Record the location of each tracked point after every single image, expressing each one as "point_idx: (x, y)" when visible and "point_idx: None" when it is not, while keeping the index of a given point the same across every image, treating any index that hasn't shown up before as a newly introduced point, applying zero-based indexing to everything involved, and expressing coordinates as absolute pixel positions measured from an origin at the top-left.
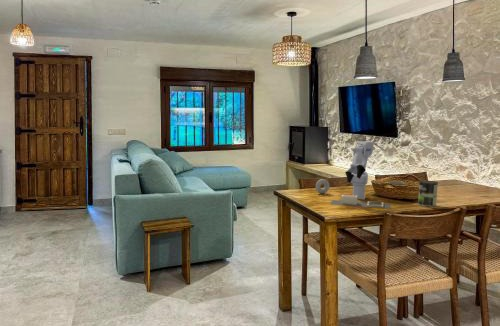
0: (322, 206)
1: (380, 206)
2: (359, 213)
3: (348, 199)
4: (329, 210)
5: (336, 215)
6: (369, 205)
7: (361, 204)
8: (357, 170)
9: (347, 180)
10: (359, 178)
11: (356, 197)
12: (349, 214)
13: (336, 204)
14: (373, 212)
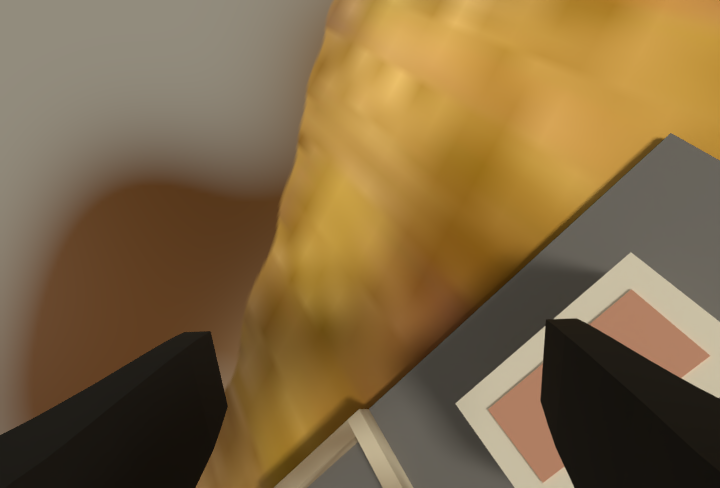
0: (642, 35)
1: (277, 484)
2: (302, 206)
3: None
4: (468, 46)
5: (347, 45)
6: (343, 424)
7: (472, 467)
8: (37, 453)
9: (575, 323)
10: (217, 405)
11: (461, 400)
12: (321, 130)
13: (618, 197)
14: (268, 316)
